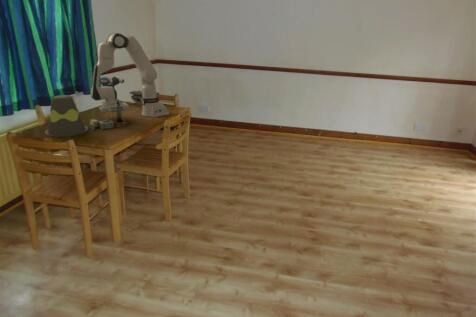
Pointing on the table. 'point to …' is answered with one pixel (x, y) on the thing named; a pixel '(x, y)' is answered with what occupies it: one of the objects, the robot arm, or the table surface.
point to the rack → (119, 123)
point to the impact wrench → (110, 81)
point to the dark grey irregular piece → (138, 97)
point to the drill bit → (118, 111)
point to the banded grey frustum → (64, 118)
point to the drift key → (95, 122)
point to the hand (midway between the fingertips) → (118, 110)
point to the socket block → (103, 124)
